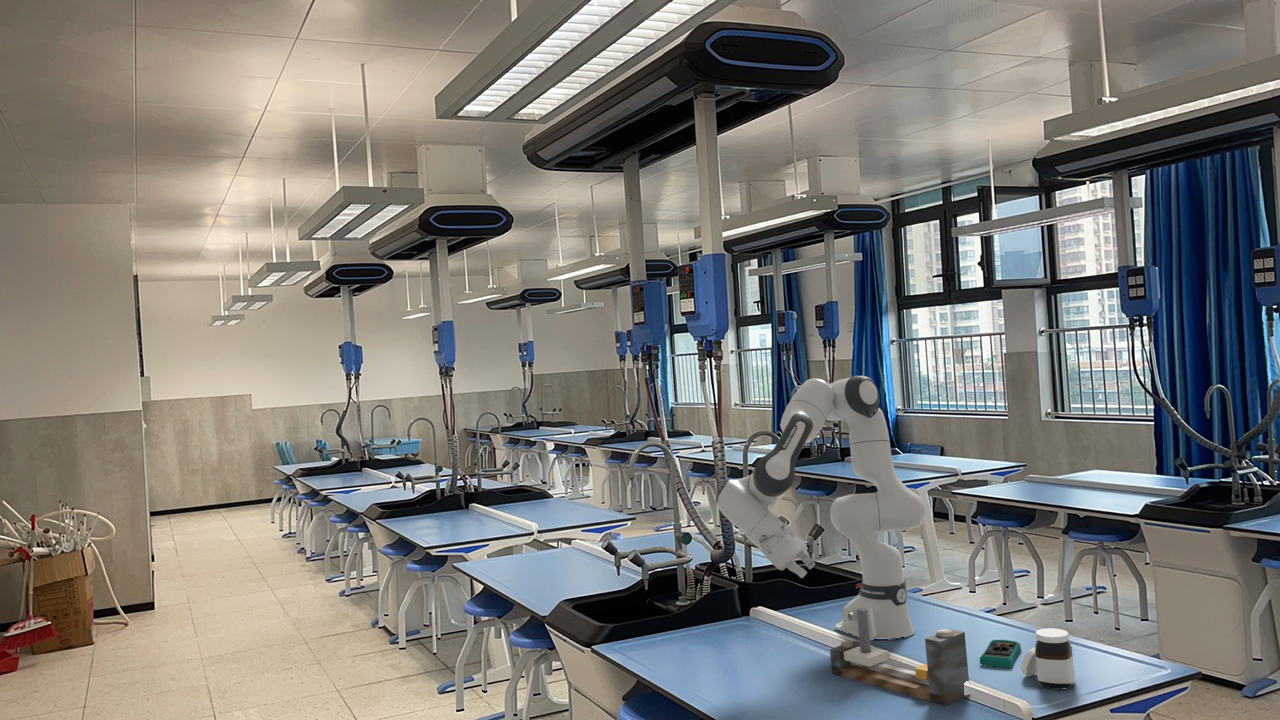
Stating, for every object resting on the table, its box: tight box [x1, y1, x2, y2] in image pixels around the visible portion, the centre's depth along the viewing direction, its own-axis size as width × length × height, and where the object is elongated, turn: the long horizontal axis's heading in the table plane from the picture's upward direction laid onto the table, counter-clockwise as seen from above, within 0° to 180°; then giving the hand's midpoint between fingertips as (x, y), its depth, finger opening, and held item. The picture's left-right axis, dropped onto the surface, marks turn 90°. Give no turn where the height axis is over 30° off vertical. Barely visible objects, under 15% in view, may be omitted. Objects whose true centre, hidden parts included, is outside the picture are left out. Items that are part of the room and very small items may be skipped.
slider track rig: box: [829, 628, 970, 707], centre depth 220 cm, size 33×9×15 cm, turn 36°
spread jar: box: [1020, 627, 1075, 690], centre depth 213 cm, size 12×11×12 cm
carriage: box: [844, 608, 890, 667], centre depth 227 cm, size 8×7×12 cm
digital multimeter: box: [979, 639, 1022, 669], centre depth 231 cm, size 7×15×3 cm, turn 149°
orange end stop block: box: [914, 663, 928, 680], centre depth 213 cm, size 3×5×2 cm, turn 126°
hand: (809, 571), depth 232 cm, fingers open, 8 cm apart
